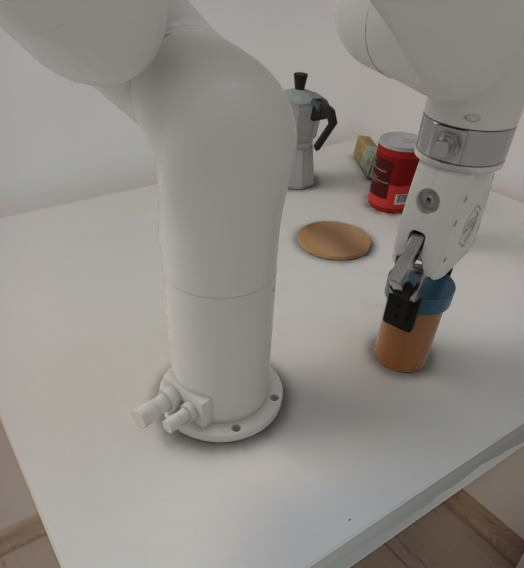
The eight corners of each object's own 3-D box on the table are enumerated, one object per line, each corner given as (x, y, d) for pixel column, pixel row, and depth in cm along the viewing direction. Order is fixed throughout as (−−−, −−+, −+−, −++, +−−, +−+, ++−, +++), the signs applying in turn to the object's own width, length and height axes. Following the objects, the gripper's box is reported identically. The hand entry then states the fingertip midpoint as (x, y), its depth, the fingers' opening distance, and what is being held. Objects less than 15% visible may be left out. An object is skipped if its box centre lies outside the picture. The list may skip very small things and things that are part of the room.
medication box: (381, 180, 98) (387, 159, 95) (367, 178, 97) (373, 157, 94) (364, 154, 106) (370, 135, 104) (352, 153, 106) (357, 133, 103)
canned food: (418, 201, 91) (434, 138, 84) (402, 218, 86) (418, 152, 78) (378, 190, 94) (390, 127, 87) (360, 205, 89) (371, 140, 81)
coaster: (342, 268, 73) (343, 265, 73) (283, 240, 78) (283, 237, 78) (383, 241, 79) (384, 238, 79) (326, 217, 85) (326, 214, 84)
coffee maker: (251, 174, 97) (254, 68, 85) (284, 164, 101) (292, 61, 90) (309, 202, 89) (321, 89, 77) (342, 189, 93) (358, 80, 82)
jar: (409, 380, 56) (432, 309, 50) (363, 354, 59) (380, 284, 53) (435, 354, 60) (460, 285, 53) (390, 331, 63) (409, 263, 56)
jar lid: (433, 324, 50) (438, 309, 49) (372, 297, 53) (375, 282, 52) (460, 294, 55) (466, 279, 53) (402, 271, 58) (406, 256, 56)
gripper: (467, 183, 36) (409, 366, 48) (538, 126, 47) (476, 288, 59) (374, 155, 40) (341, 333, 52) (460, 108, 50) (416, 265, 62)
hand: (413, 308), depth 55 cm, fingers closed on jar lid, 6 cm apart
